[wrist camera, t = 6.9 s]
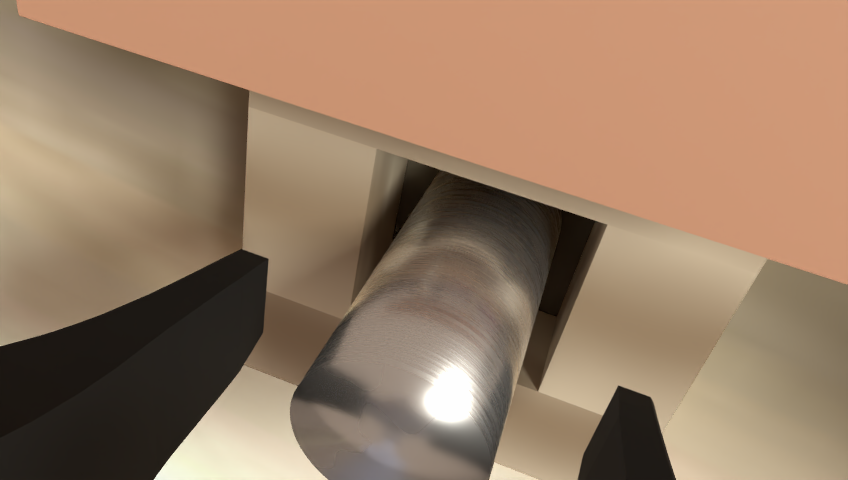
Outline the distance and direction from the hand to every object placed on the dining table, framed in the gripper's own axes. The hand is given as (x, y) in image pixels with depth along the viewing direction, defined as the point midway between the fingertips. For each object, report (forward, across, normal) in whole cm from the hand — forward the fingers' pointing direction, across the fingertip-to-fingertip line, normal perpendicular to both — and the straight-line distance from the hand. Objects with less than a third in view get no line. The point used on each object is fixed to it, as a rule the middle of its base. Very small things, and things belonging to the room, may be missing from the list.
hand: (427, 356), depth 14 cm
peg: (+6, 0, 0) cm, 6 cm away
